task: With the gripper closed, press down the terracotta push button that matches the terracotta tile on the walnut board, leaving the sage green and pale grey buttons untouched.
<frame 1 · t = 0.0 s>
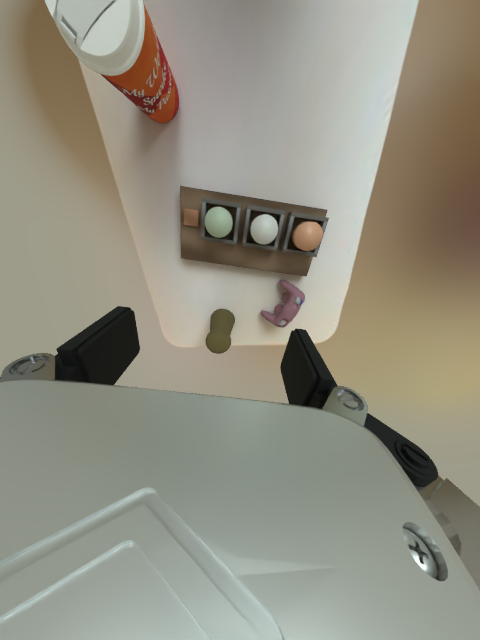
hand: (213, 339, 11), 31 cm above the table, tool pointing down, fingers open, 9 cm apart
grey button: (263, 229, 31), point 5 cm above the table, slide at 0.0 cm
olive green skittle: (222, 319, 46), on the table
video game controller: (279, 300, 44), on the table
sage button: (219, 222, 31), point 5 cm above the table, slide at 0.0 cm
terracotta button: (306, 236, 32), point 5 cm above the table, slide at 0.0 cm
coffee cup: (160, 96, 28), on the table
button board: (249, 234, 37), on the table
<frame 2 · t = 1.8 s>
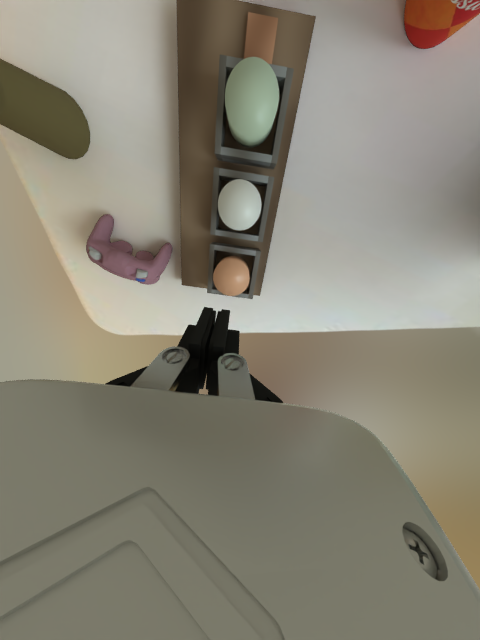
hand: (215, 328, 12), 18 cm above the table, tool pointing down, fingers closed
grey button: (239, 207, 20), point 5 cm above the table, slide at 0.0 cm
olive green skittle: (64, 125, 21), on the table
video game controller: (140, 248, 28), on the table
sage button: (251, 108, 16), point 5 cm above the table, slide at 0.0 cm
terracotta button: (232, 275, 23), point 5 cm above the table, slide at 0.0 cm
coffee cup: (438, 0, 17), on the table
button board: (231, 189, 24), on the table
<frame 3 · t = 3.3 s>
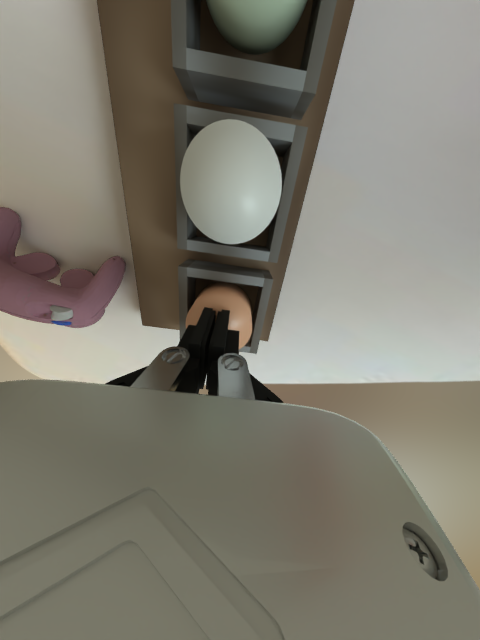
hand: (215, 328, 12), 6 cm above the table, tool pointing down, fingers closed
grey button: (232, 194, 9), point 5 cm above the table, slide at 0.0 cm
video game controller: (74, 264, 17), on the table
terracotta button: (221, 317, 13), point 5 cm above the table, slide at 0.6 cm, touching gripper
button board: (219, 166, 13), on the table
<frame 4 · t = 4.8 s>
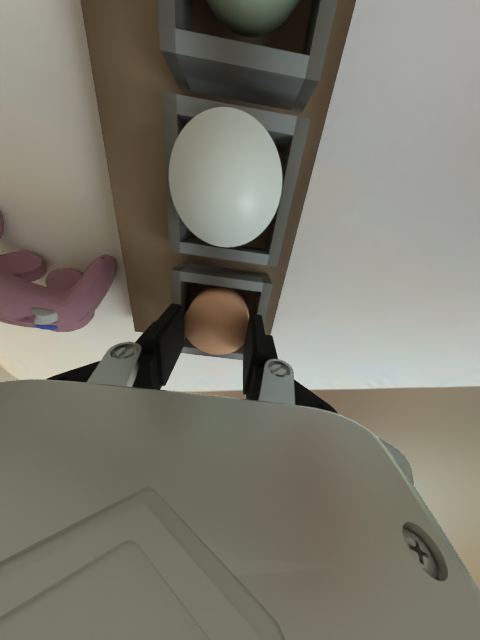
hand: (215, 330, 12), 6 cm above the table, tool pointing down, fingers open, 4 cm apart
grey button: (228, 192, 9), point 5 cm above the table, slide at 0.0 cm
video game controller: (62, 263, 16), on the table
terracotta button: (219, 317, 13), point 4 cm above the table, slide at 1.6 cm
button board: (215, 163, 12), on the table
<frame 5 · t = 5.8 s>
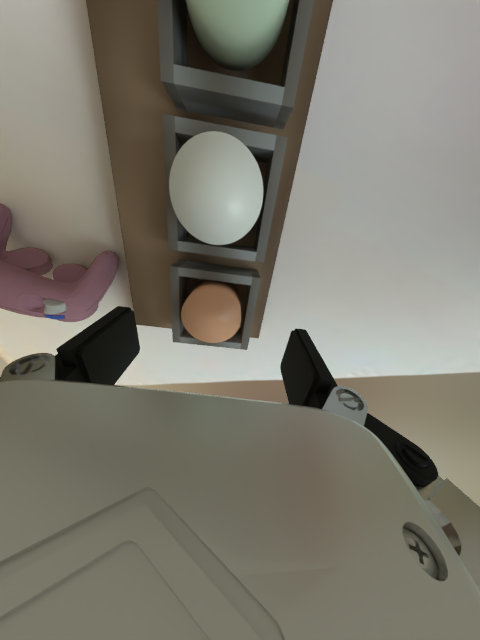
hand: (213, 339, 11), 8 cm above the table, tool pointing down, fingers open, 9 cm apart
grey button: (219, 198, 10), point 5 cm above the table, slide at 0.0 cm
video game controller: (67, 259, 17), on the table
terracotta button: (213, 309, 15), point 4 cm above the table, slide at 1.6 cm
button board: (208, 171, 14), on the table
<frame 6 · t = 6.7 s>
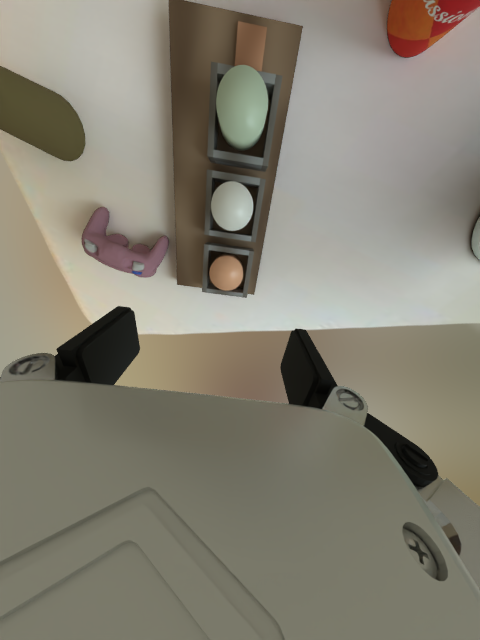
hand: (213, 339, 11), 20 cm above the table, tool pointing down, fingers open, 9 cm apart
grey button: (232, 208, 20), point 5 cm above the table, slide at 0.0 cm
olive green skittle: (59, 128, 22), on the table
video game controller: (136, 242, 28), on the table
sage button: (242, 113, 17), point 6 cm above the table, slide at 0.0 cm
terracotta button: (227, 271, 25), point 4 cm above the table, slide at 1.6 cm
coffee cup: (419, 12, 18), on the table
button board: (225, 191, 24), on the table
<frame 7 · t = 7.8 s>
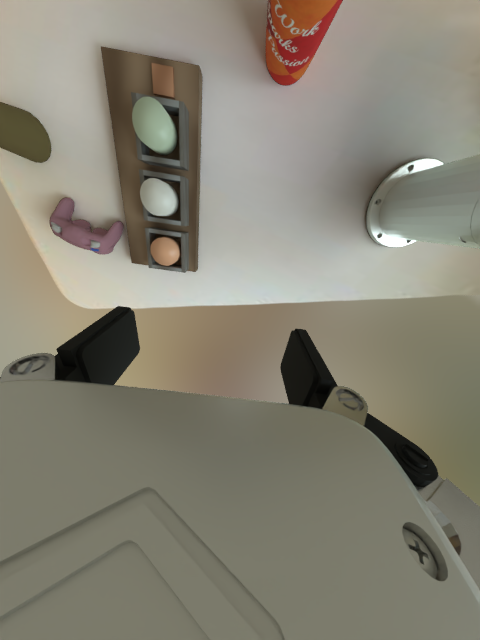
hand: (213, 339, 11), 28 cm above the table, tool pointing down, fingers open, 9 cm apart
grey button: (160, 198, 27), point 5 cm above the table, slide at 0.0 cm
olive green skittle: (30, 137, 28), on the table
video game controller: (98, 226, 34), on the table
sage button: (156, 128, 23), point 6 cm above the table, slide at 0.0 cm
terracotta button: (167, 250, 32), point 4 cm above the table, slide at 1.6 cm
coffee cup: (288, 53, 24), on the table
button board: (163, 186, 31), on the table
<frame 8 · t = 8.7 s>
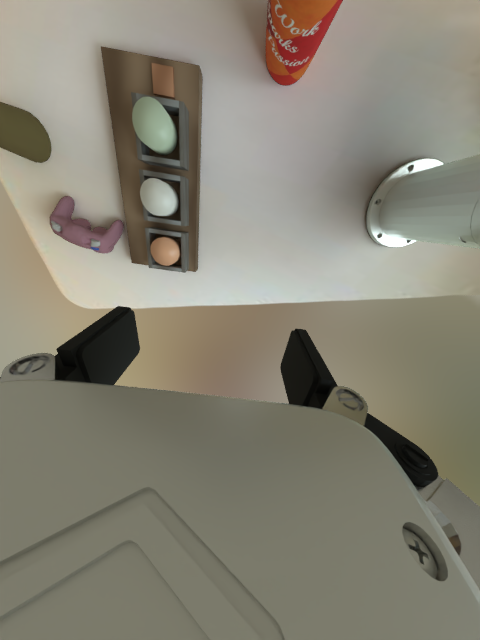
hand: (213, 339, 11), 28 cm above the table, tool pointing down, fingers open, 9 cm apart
grey button: (160, 198, 27), point 5 cm above the table, slide at 0.0 cm
olive green skittle: (30, 137, 28), on the table
video game controller: (98, 225, 34), on the table
sage button: (156, 128, 23), point 5 cm above the table, slide at 0.0 cm
terracotta button: (167, 250, 32), point 4 cm above the table, slide at 1.6 cm
coffee cup: (288, 53, 24), on the table
button board: (163, 186, 31), on the table
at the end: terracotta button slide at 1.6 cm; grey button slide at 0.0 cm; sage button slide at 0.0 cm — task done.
